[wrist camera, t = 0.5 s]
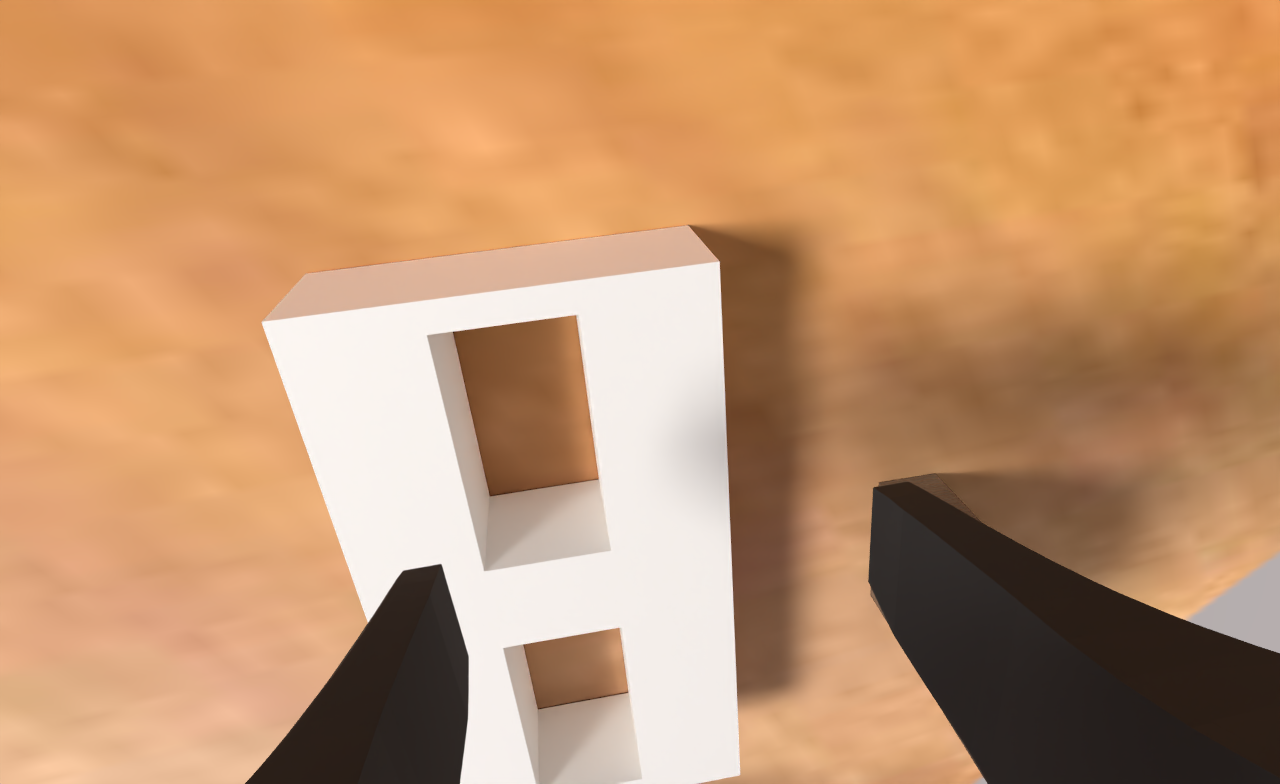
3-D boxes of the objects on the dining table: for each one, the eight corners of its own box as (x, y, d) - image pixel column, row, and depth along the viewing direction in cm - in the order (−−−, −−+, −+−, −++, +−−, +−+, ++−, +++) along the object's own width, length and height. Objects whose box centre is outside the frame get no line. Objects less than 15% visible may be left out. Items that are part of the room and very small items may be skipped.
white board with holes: (715, 691, 27) (740, 775, 24) (452, 740, 27) (442, 833, 23) (688, 225, 19) (719, 261, 16) (305, 273, 18) (261, 322, 15)
